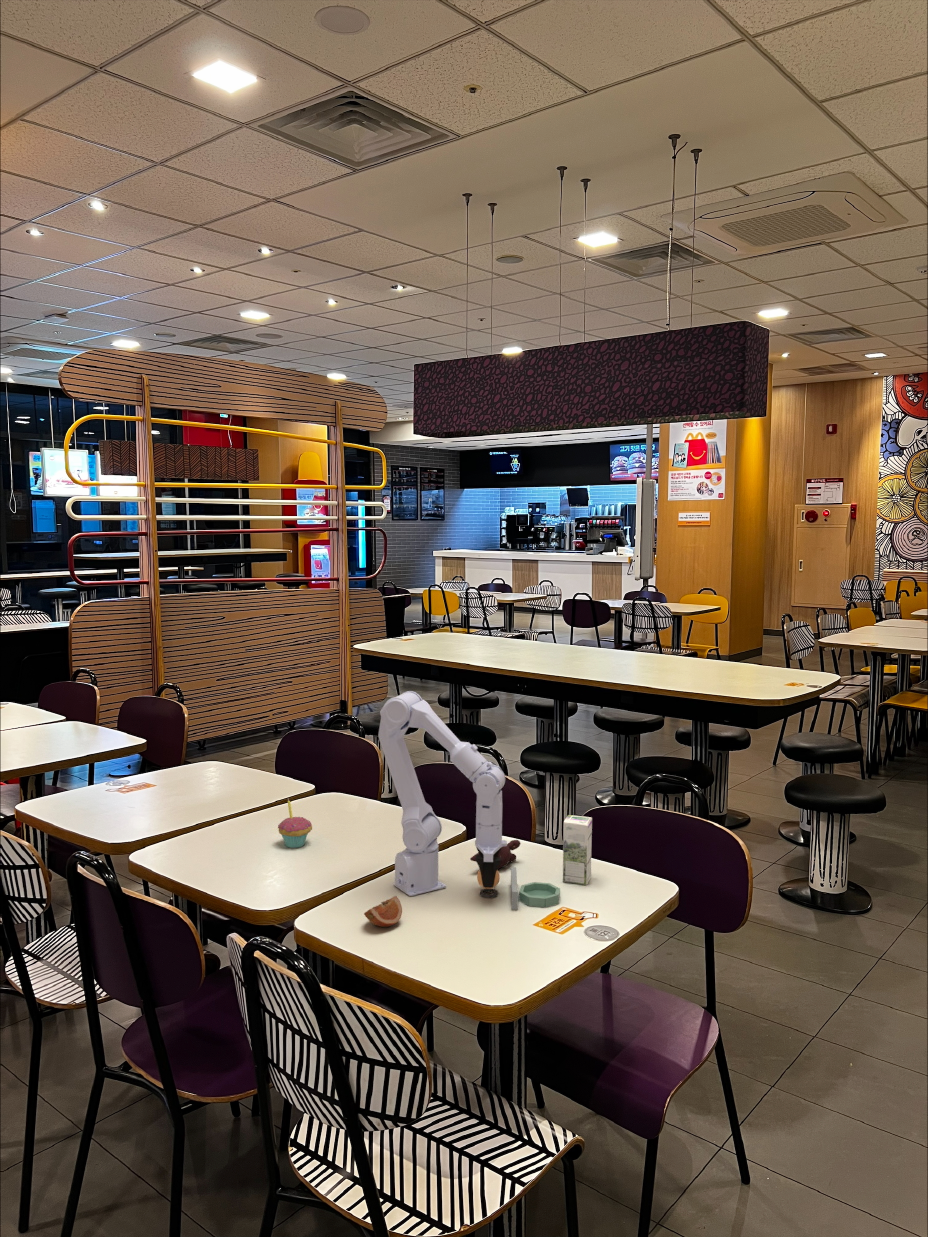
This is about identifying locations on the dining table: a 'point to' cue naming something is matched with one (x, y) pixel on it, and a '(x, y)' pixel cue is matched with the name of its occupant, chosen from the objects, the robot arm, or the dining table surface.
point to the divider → (514, 888)
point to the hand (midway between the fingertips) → (488, 882)
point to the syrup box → (577, 849)
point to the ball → (494, 881)
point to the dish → (539, 894)
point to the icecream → (505, 853)
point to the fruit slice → (385, 913)
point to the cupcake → (294, 830)
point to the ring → (483, 891)
